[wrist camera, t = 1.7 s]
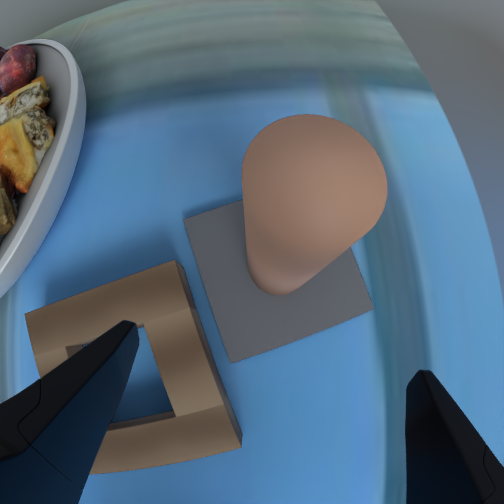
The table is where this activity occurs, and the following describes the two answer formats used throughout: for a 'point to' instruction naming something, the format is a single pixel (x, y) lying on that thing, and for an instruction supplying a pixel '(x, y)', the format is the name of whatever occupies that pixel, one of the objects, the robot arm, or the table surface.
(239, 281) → the mat
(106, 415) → the robot arm
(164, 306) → the socket block
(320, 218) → the dowel
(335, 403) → the table surface
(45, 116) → the bowl
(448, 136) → the table surface
